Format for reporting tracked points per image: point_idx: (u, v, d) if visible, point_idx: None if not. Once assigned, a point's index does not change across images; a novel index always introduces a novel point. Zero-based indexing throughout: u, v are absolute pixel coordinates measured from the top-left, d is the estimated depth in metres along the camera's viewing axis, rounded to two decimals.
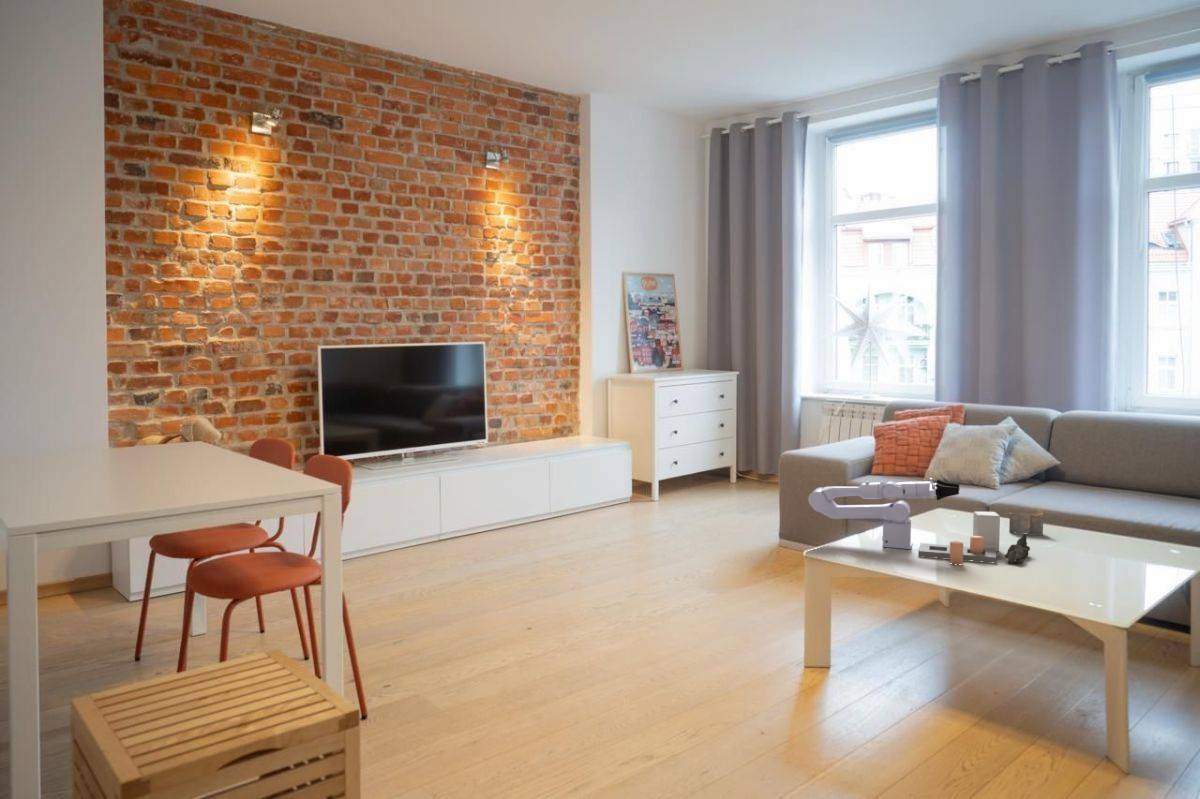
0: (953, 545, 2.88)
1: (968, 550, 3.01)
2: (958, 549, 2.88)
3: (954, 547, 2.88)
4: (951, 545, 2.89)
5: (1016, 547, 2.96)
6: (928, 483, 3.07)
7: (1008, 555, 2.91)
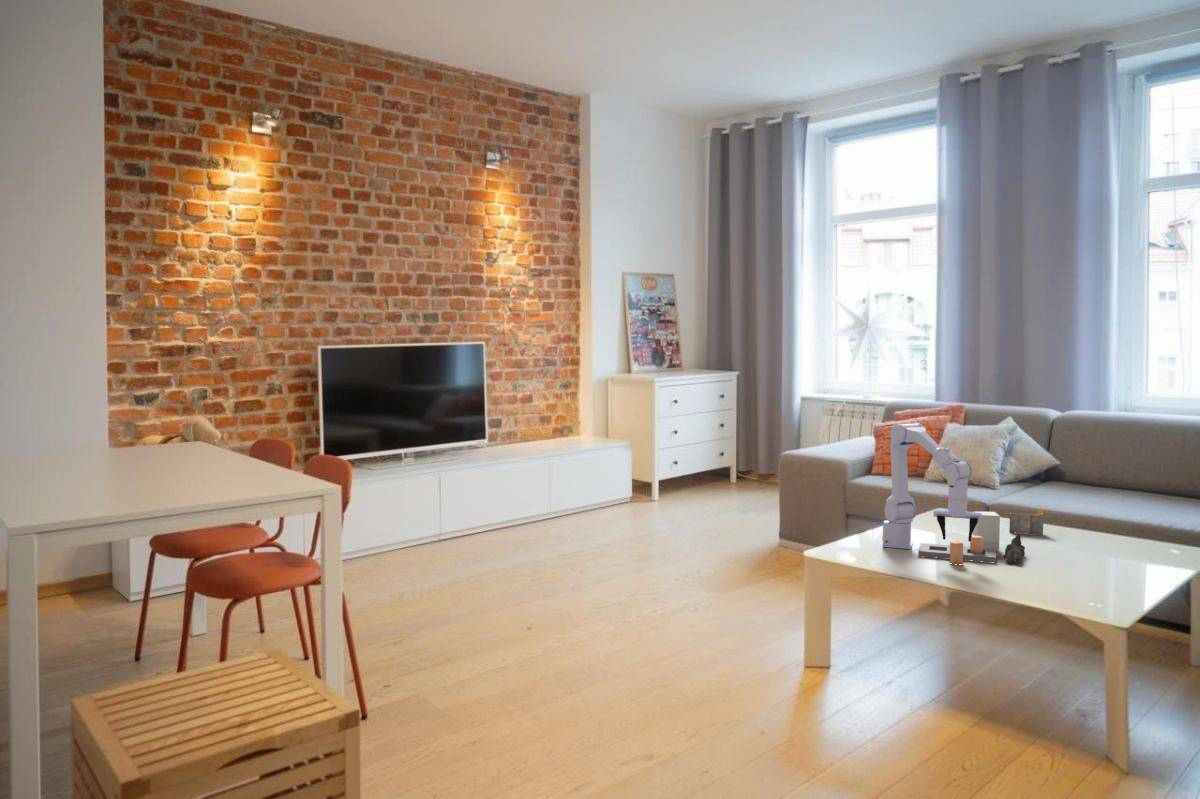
0: (953, 545, 2.88)
1: (968, 550, 3.01)
2: (958, 549, 2.88)
3: (954, 547, 2.88)
4: (951, 545, 2.89)
5: (1013, 547, 2.96)
6: (952, 511, 2.87)
7: (1007, 555, 2.91)
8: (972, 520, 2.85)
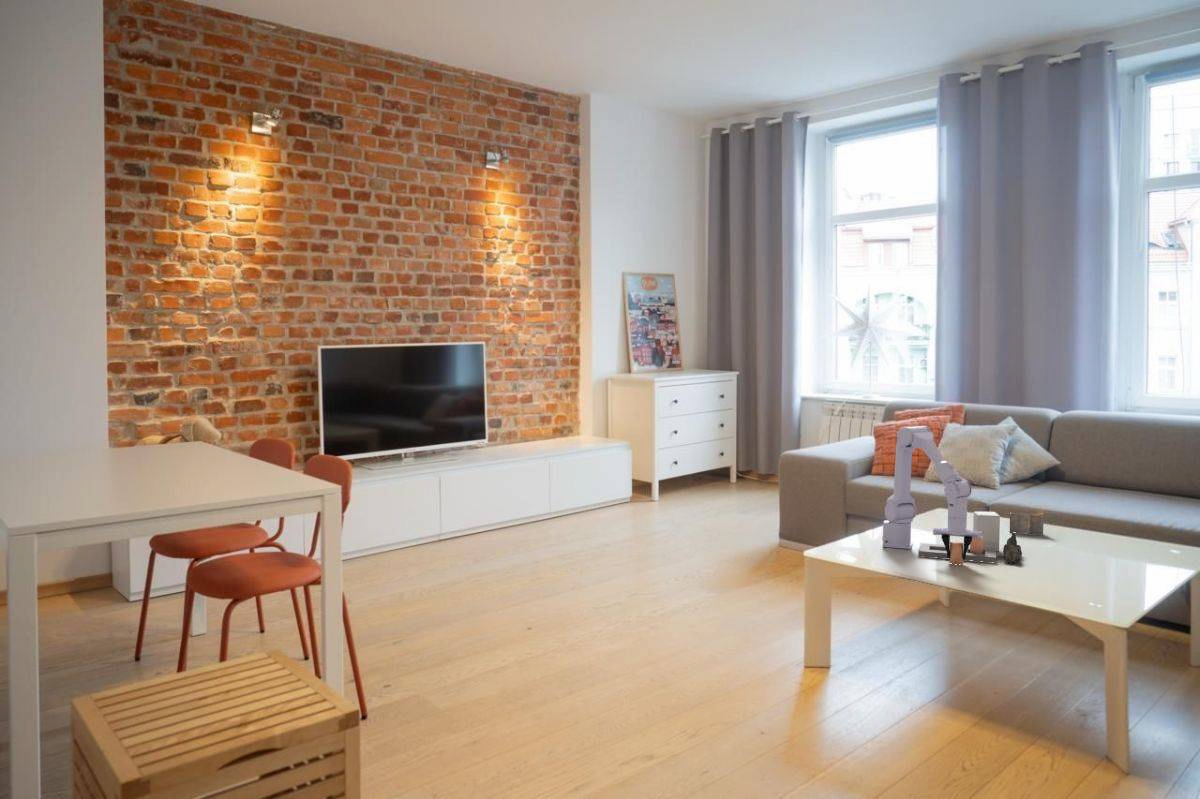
0: (953, 545, 2.88)
1: (968, 550, 3.01)
2: (958, 549, 2.88)
3: (954, 547, 2.88)
4: (951, 545, 2.89)
5: (1010, 547, 2.96)
6: (952, 530, 2.87)
7: (1006, 555, 2.91)
8: (971, 539, 2.86)
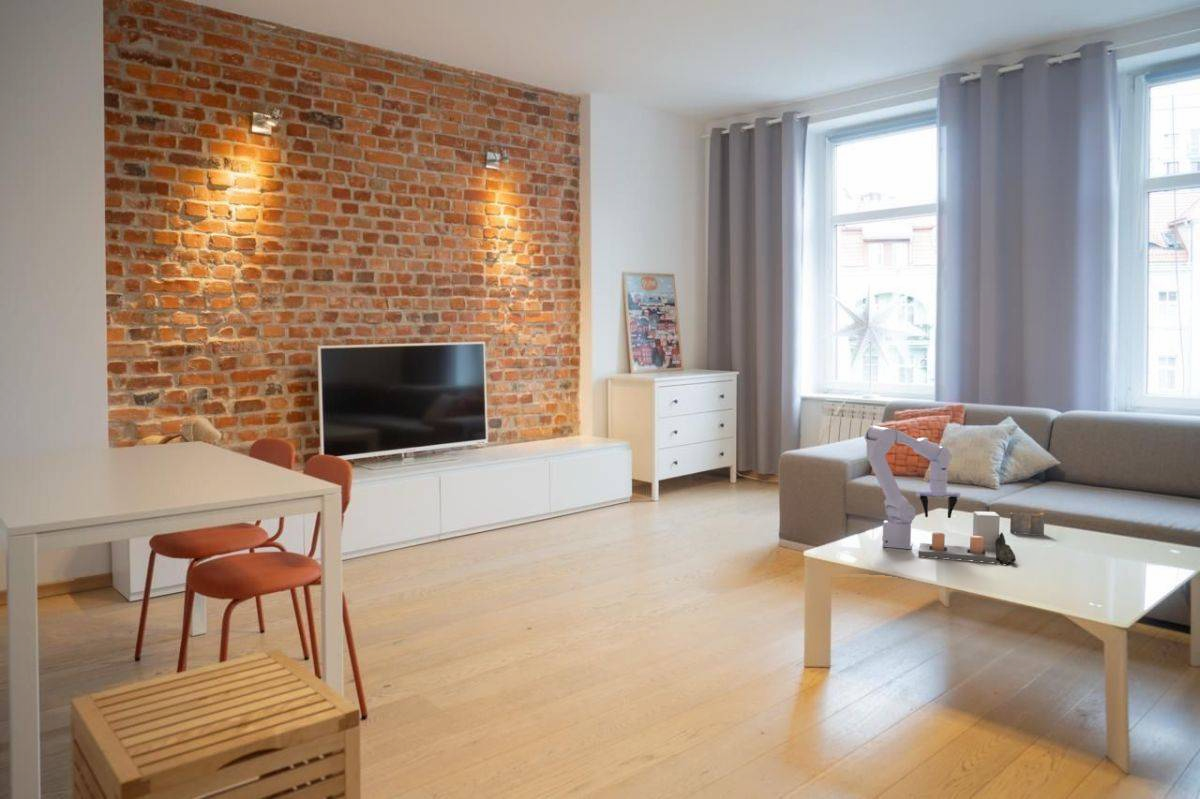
0: (935, 536, 3.01)
1: (968, 550, 3.01)
2: (940, 540, 3.00)
3: (936, 538, 3.00)
4: (933, 536, 3.01)
5: (1002, 547, 2.96)
6: (935, 491, 3.15)
7: (1001, 556, 2.91)
8: (952, 498, 3.14)
